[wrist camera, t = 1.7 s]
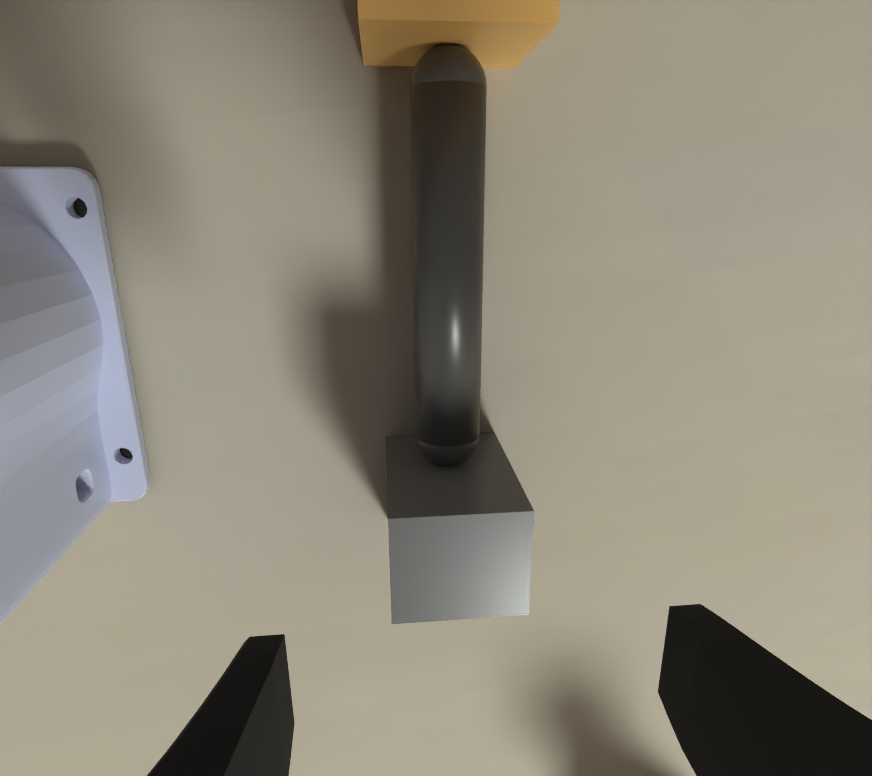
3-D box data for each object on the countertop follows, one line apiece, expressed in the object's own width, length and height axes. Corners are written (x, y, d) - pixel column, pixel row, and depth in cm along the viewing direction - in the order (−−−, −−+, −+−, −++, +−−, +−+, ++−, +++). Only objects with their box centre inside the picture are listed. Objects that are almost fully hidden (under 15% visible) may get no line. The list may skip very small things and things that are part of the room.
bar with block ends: (499, 514, 19) (537, 613, 15) (381, 520, 19) (381, 624, 14) (521, -166, 14) (596, -359, 9) (354, -174, 13) (340, -380, 9)
